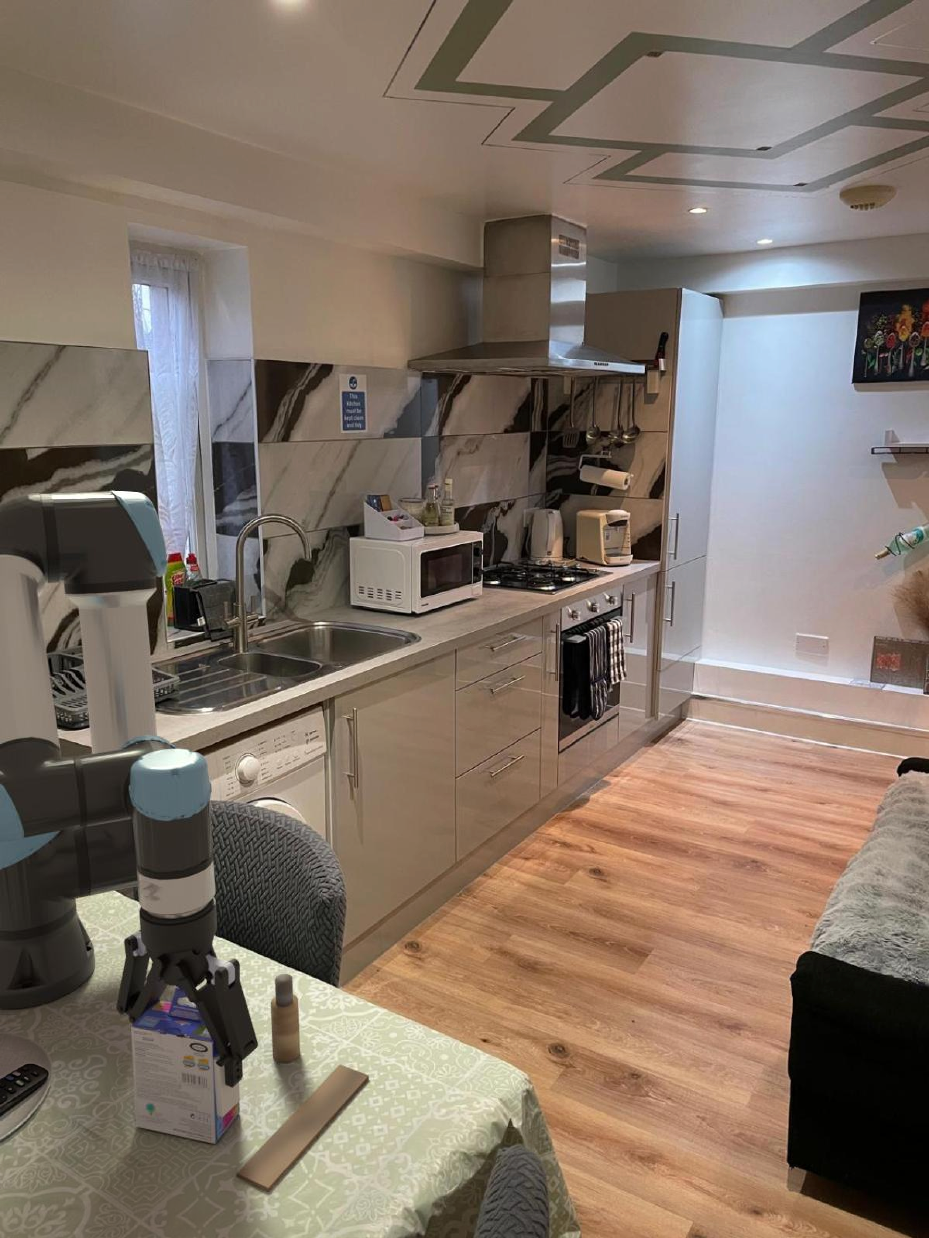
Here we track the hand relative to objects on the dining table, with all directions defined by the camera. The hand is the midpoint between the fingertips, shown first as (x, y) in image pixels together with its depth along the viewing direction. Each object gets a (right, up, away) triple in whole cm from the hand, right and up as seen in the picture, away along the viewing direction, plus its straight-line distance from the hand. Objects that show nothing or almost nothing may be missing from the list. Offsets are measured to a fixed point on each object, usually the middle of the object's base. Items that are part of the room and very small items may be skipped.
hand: (189, 1090), depth 99 cm
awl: (+8, -1, +11) cm, 14 cm away
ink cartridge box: (0, -4, +1) cm, 4 cm away
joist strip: (+13, -4, 0) cm, 13 cm away
